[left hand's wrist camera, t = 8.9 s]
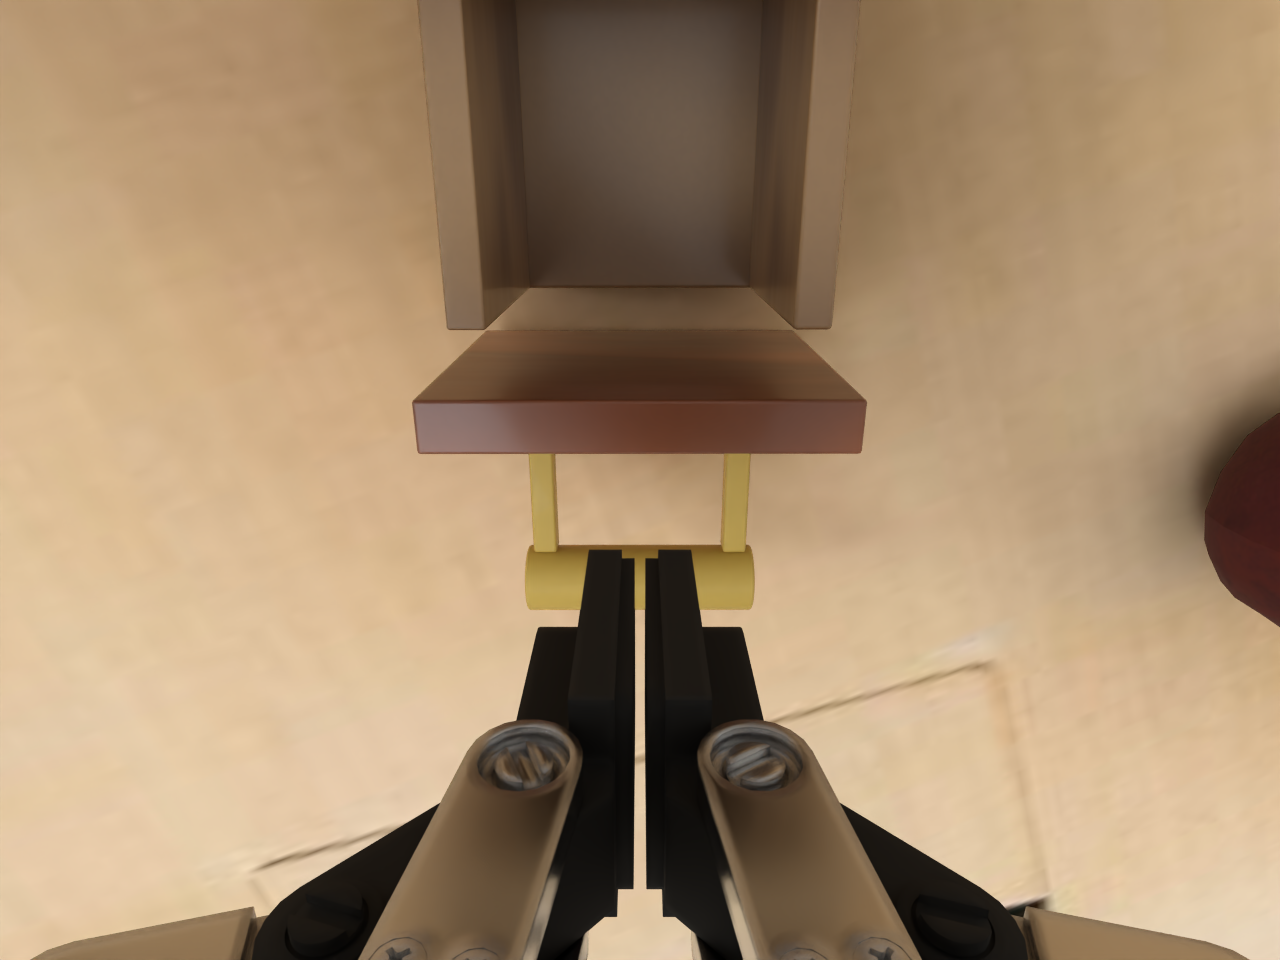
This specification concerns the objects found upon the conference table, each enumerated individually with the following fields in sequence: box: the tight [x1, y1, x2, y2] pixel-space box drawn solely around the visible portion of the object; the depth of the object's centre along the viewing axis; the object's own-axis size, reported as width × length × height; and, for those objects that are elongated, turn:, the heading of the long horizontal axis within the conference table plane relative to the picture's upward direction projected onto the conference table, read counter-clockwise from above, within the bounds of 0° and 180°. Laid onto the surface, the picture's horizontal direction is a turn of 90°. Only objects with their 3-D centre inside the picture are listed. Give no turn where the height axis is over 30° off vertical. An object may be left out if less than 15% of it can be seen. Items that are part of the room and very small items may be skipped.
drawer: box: [412, 0, 867, 610], centre depth 18 cm, size 23×10×8 cm, turn 0°
